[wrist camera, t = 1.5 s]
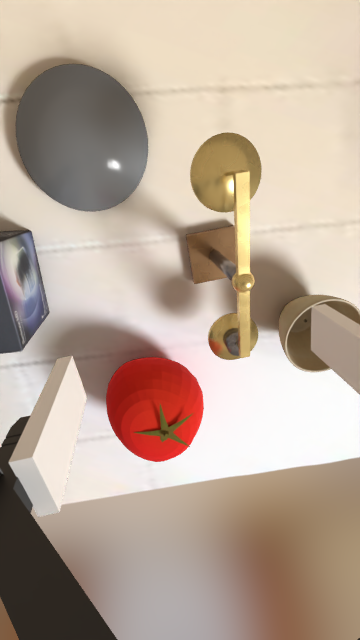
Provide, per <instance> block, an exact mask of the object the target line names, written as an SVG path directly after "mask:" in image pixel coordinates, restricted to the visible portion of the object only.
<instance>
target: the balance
mask: <svg viewBox="0 0 360 640" xmlns="http://www.w3.org/2000/svg"><path fill="white" fill-rule="evenodd" d="M260 179H261V162H260V158H259V155H258V152H257V151H256V149H255V147H254V146H253V144H252V143H251V142H250V141H249V140H247V139H246V138H245V137H243V136H241V135H239V134H235V133H221V134H218V135H215V136H213V137H211V138H210V139H208V140H207V141H206V142H204V143H203V144H202V145H201V146H200V148H199V149H198V151H197V152H196V154H195V156H194V158H193V161H192V164H191V170H190V180H191V185H192V189H193V191H194V193H195V195H196V197H197V199H198V200H199V201H200V202H201V203H202V204H203V205H204V206H206V207H207V208H209V209H211V210H214V211H217V212H231V211H234V221H235V226H228V227H223V228H218V229H213V230H208V231H202V232H197V233H192V234H187V235H186V239H187V245H188V252H189V258H190V264H191V271H192V277H193V282H194V284H197V283H202V282H207V281H212V280H217V279H222V278H227V277H228V278H229V279H230V280H231V281H232V286H233V288H234V289H235V290H236V291H237V313H230V314H226V315H224V316H222V317H220V318H219V319H217V320H216V321H215V322H214V323H213V325H212V326H211V328H210V330H209V334H208V342H209V346H210V348H211V350H212V351H213V353H214V354H215V355H217V356H218V357H220V358H222V359H226V360H234V359H239V358H244V357H249V356H250V351H251V350H252V349H253V348H254V346H255V345H256V342H257V339H258V329H257V326H256V324H255V323H254V322H253V320H252V319H251V318H250V290H251V289H252V288H253V286H254V283H255V279H254V276H253V275H252V273H251V272H250V200H251V198H252V197H253V196H254V194H255V193H256V191H257V189H258V186H259V183H260Z"/></svg>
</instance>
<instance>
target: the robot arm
mask: <svg viewBox="0 0 360 640" xmlns="http://www.w3.org/2000/svg"><path fill="white" fill-rule="evenodd" d="M311 351H313V352H314V353H315V354H316V355H317V356H318V357H319V358H320V359H321V360H322V361H323V362H325V363H326V364H327V365H328V366H329V367H330V368H331V369H332V370H333V371H334V372H336V373H337V374H338V375H339V376H340V377H341V378H342V379H343V380H344V381H345V382H347V383H348V384H349V385H350V386H351V387H352V388H353V389H354V390H355V391H356V392H357V393H359V394H360V325H359V324H358V323H356V322H354V321H353V320H351V319H349V318H348V317H346V316H344V315H343V314H341V313H339V312H338V311H336V310H334V309H333V308H331V307H329V306H328V305H326V304H322V305H317V306H312V311H311ZM86 400H87V396H86V393H85V390H84V387H83V384H82V382H81V379H80V376H79V373H78V370H77V368H76V365H75V362H74V359H73V356H67V357H63V358H58V359H57V361H56V363H55V365H54V367H53V369H52V371H51V373H50V376H49V378H48V380H47V382H46V384H45V386H44V388H43V390H42V393H41V395H40V397H39V399H38V401H37V403H36V405H35V407H34V409H33V412H32V414H31V416H26V417H21V418H20V419H19V420H18V421H17V422H16V423H15V424H14V425H13V426H12V427H11V428H10V430H9V432H8V434H7V436H6V439H5V440H4V442H3V443H2V447H0V597H1V599H2V601H3V604H4V606H5V608H6V611H7V613H8V615H9V617H10V620H11V622H12V624H13V626H14V629H15V631H16V633H17V636H18V638H19V640H117V639H116V637H115V636H114V634H113V633H112V631H111V630H110V628H109V627H108V626H107V624H106V623H105V621H104V620H103V618H102V617H101V615H100V614H99V612H98V611H97V609H96V608H95V607H94V605H93V604H92V602H91V601H90V599H89V598H88V596H87V595H86V594H85V592H84V591H83V589H82V588H81V586H80V585H79V583H78V582H77V580H76V579H75V578H74V576H73V575H72V573H71V572H70V570H69V569H68V567H67V566H66V565H65V563H64V562H63V560H62V559H61V557H60V556H59V554H58V553H57V551H56V550H55V548H54V547H53V546H52V544H51V543H50V541H49V540H48V539H47V537H46V535H45V534H44V533H43V531H42V530H41V528H40V527H39V525H38V524H37V522H36V521H35V519H34V518H33V516H32V515H31V514H30V513H31V510H32V507H33V508H34V510H35V512H36V514H37V516H38V517H40V516H45V515H49V514H53V513H58V512H60V508H61V504H62V500H63V496H64V492H65V488H66V483H67V479H68V475H69V471H70V467H71V463H72V458H73V454H74V450H75V446H76V442H77V438H78V433H79V429H80V425H81V421H82V417H83V413H84V408H85V404H86ZM358 640H360V638H359V639H358Z"/></svg>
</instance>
